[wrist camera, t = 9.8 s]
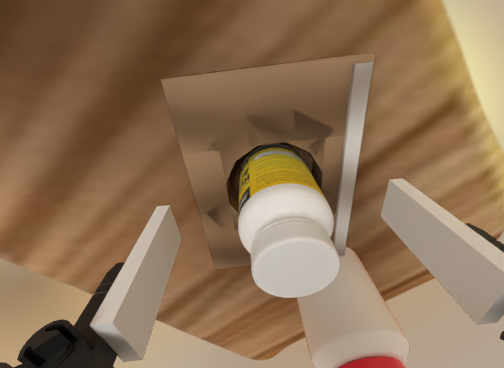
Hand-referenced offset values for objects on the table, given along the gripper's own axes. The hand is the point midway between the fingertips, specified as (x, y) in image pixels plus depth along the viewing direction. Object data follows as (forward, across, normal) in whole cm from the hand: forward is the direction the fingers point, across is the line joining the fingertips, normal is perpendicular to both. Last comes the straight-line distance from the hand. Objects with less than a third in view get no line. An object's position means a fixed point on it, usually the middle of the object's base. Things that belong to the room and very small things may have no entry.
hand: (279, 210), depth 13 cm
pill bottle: (+6, +5, -13) cm, 15 cm away
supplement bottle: (+6, 0, 0) cm, 6 cm away
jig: (+5, 0, 0) cm, 5 cm away
